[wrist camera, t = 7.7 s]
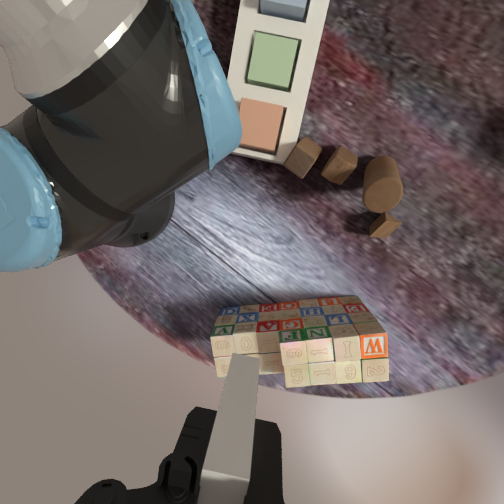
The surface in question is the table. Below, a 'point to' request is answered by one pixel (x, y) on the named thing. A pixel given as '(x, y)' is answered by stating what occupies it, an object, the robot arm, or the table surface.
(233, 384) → the robot arm
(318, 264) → the table surface
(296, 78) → the key console
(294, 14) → the blue key
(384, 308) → the table surface
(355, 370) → the stack of blocks
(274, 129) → the terracotta key
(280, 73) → the sage key
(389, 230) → the wooden block set
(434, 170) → the table surface
